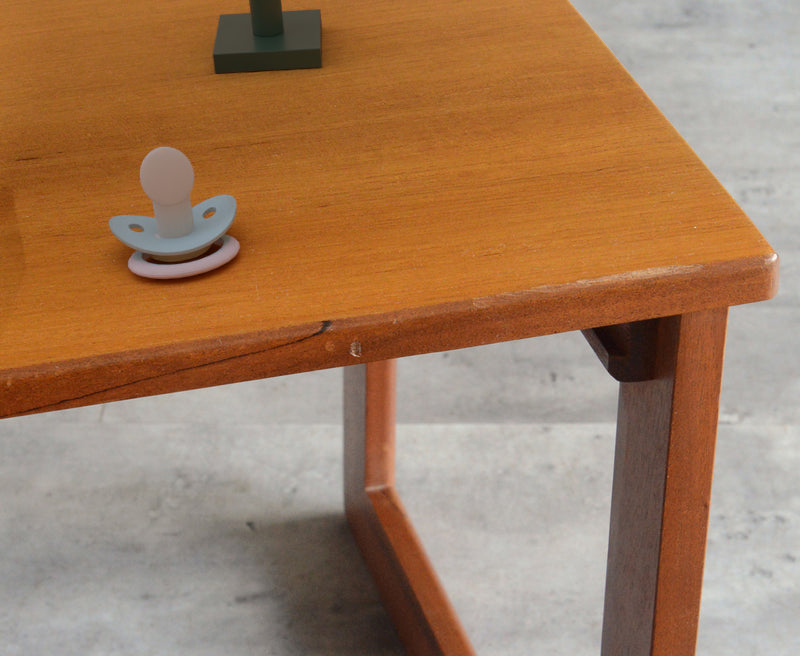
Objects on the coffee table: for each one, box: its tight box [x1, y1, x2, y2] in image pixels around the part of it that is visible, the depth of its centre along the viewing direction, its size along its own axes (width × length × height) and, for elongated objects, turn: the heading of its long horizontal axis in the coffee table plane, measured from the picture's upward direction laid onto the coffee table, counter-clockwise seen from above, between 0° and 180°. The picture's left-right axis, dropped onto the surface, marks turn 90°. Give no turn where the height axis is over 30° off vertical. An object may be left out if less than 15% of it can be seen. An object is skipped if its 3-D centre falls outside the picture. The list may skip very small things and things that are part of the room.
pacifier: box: [108, 146, 241, 280], centre depth 67 cm, size 7×6×6 cm
